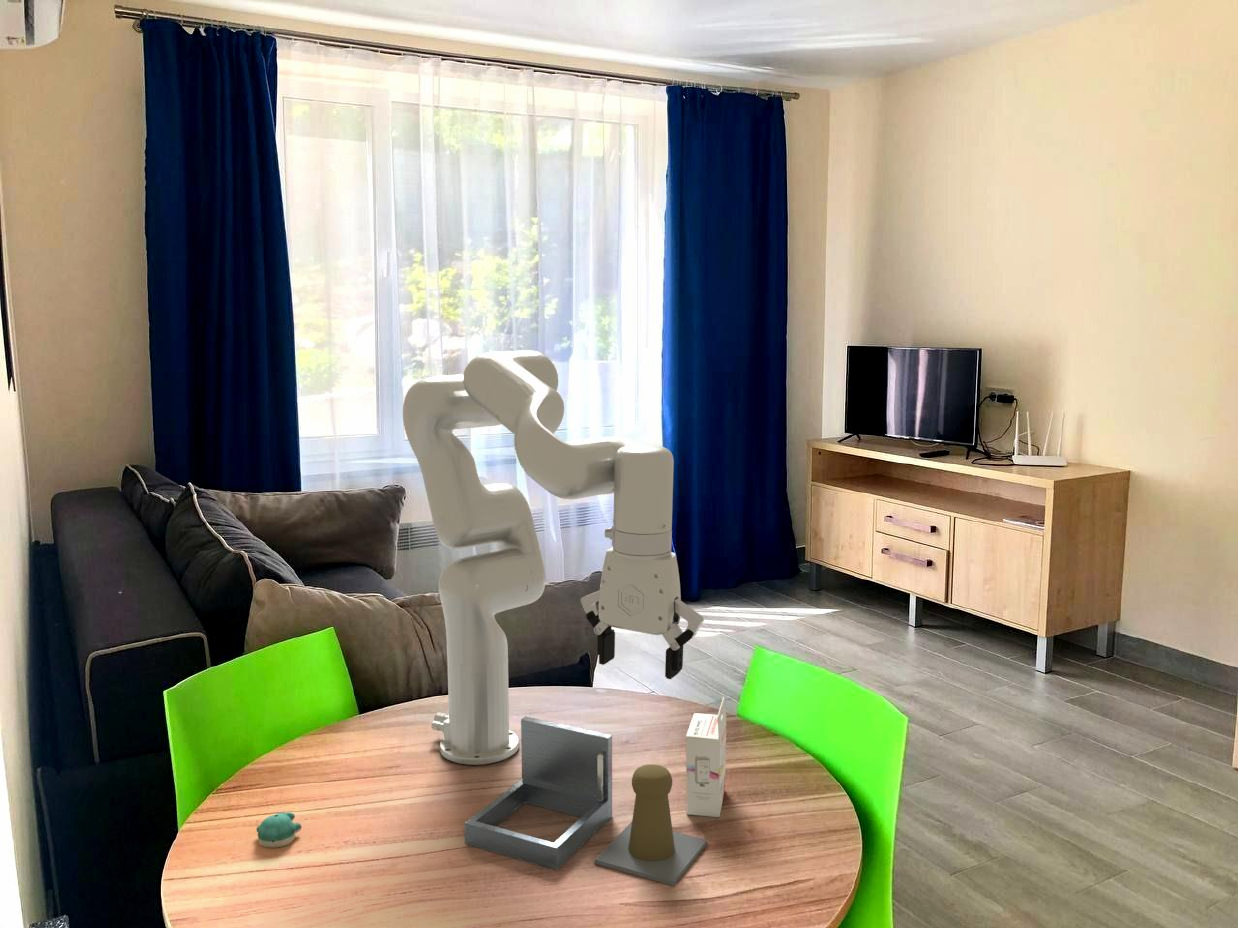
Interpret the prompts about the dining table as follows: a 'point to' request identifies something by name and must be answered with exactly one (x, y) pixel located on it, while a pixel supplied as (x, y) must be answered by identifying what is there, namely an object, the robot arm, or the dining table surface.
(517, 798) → the open lid tray
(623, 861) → the rubber mat
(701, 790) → the ink cartridge box
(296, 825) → the whale figurine
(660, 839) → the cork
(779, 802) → the dining table surface
